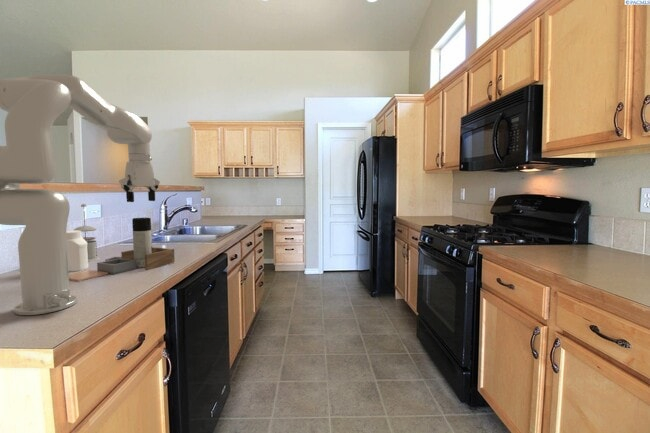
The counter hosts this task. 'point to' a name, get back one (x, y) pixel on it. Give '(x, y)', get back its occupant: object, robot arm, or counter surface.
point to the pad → (86, 275)
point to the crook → (112, 258)
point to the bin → (116, 266)
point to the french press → (91, 243)
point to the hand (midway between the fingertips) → (141, 201)
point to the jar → (76, 251)
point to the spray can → (141, 239)
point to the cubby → (153, 257)
